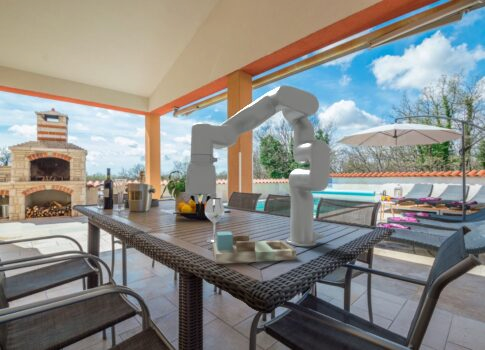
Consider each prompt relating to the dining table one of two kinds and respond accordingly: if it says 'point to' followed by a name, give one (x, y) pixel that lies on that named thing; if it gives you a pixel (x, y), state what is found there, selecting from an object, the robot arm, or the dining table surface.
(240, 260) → the board
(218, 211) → the wineglass
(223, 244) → the teal cube
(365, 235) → the dining table surface
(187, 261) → the dining table surface
